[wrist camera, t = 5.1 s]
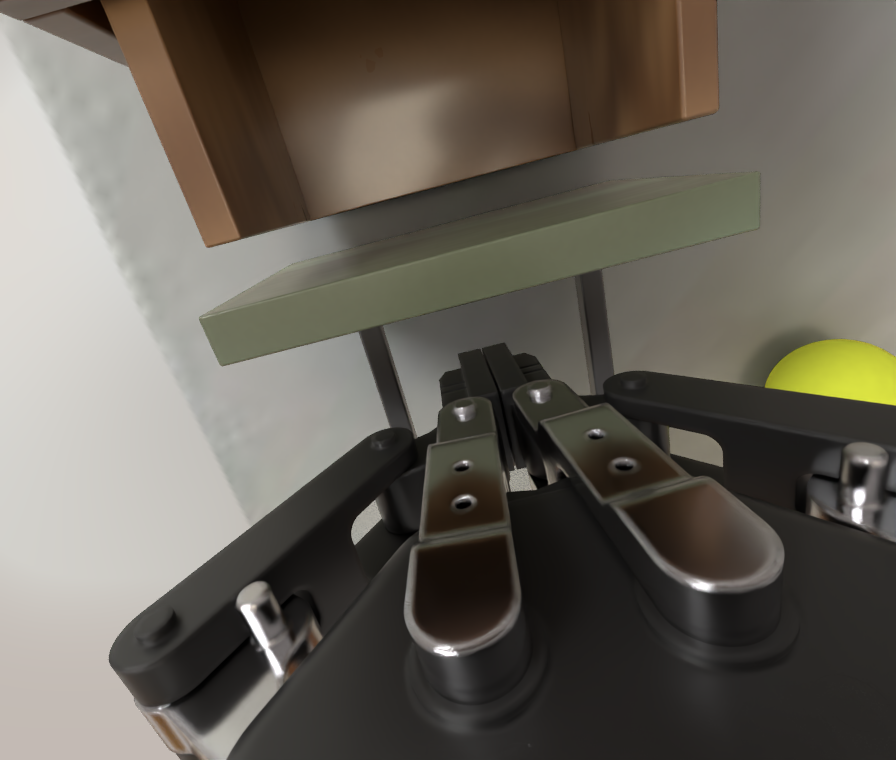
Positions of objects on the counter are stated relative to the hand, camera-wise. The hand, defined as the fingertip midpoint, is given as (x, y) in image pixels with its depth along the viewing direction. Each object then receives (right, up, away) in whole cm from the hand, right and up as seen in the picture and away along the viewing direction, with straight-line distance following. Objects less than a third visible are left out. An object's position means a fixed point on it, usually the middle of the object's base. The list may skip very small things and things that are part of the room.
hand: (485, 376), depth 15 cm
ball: (+15, -1, +5) cm, 16 cm away
